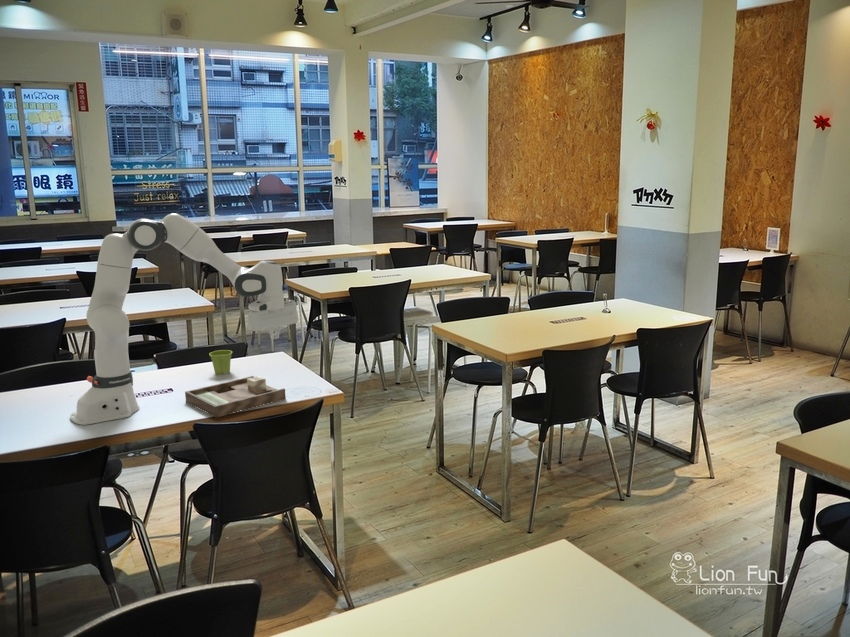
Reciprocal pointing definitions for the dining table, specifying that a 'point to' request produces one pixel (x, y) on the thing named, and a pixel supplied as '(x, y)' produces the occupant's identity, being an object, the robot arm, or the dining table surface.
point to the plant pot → (221, 361)
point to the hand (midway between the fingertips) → (274, 338)
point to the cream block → (256, 383)
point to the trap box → (231, 397)
